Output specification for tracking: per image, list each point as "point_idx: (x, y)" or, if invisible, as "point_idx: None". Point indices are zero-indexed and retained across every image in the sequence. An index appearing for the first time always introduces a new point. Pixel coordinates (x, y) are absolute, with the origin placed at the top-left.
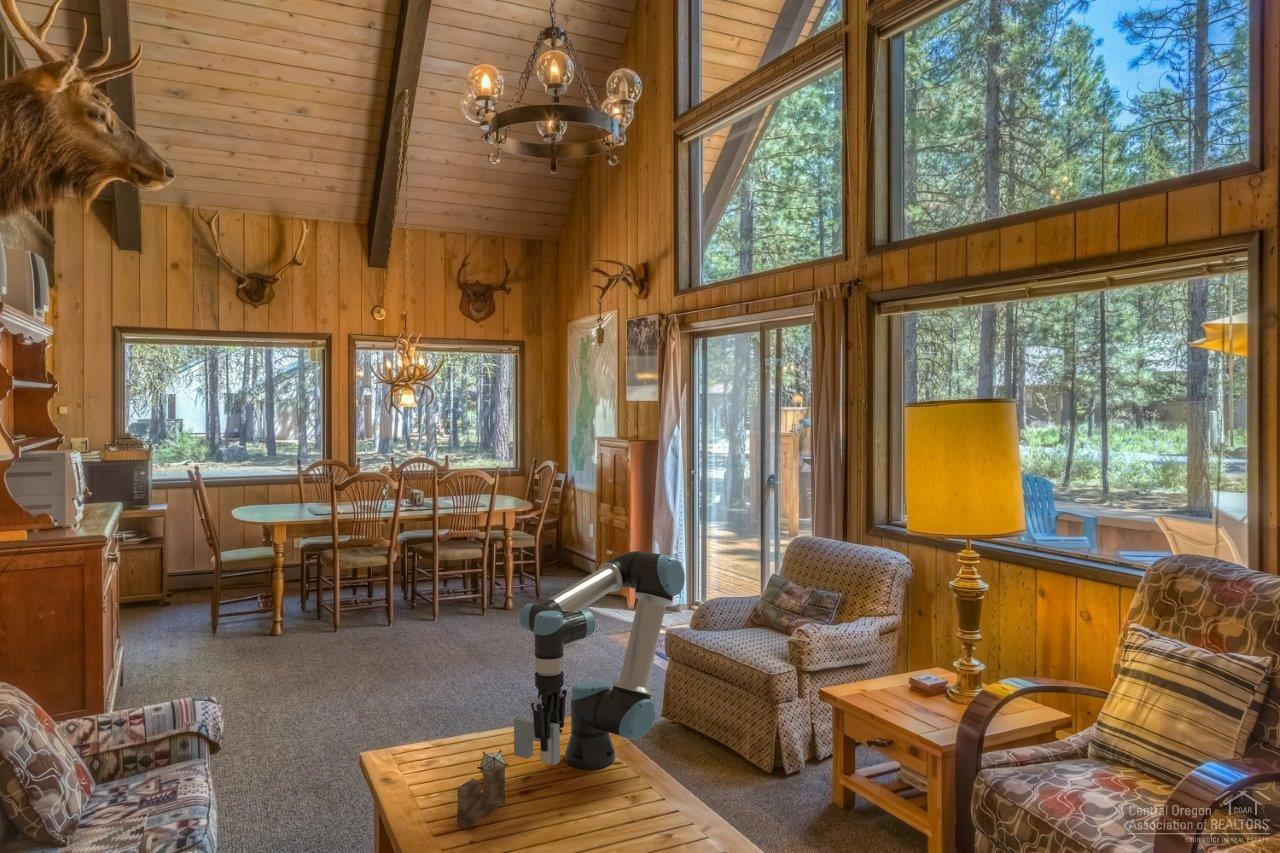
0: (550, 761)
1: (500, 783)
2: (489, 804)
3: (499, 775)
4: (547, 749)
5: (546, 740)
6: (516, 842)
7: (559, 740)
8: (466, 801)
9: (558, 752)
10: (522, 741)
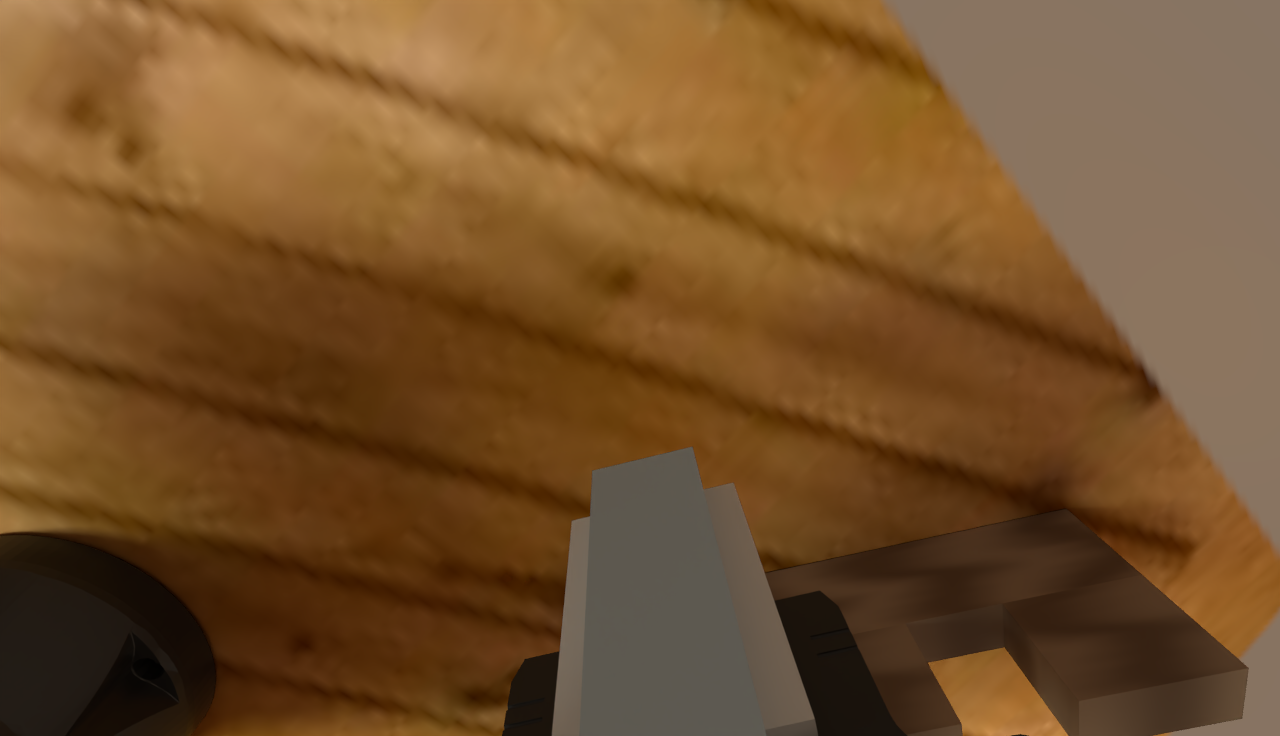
0: (722, 496)
1: None
2: (892, 579)
3: None
4: (779, 610)
5: (844, 724)
6: (1034, 211)
7: (585, 648)
8: (1160, 606)
9: (613, 531)
10: None
